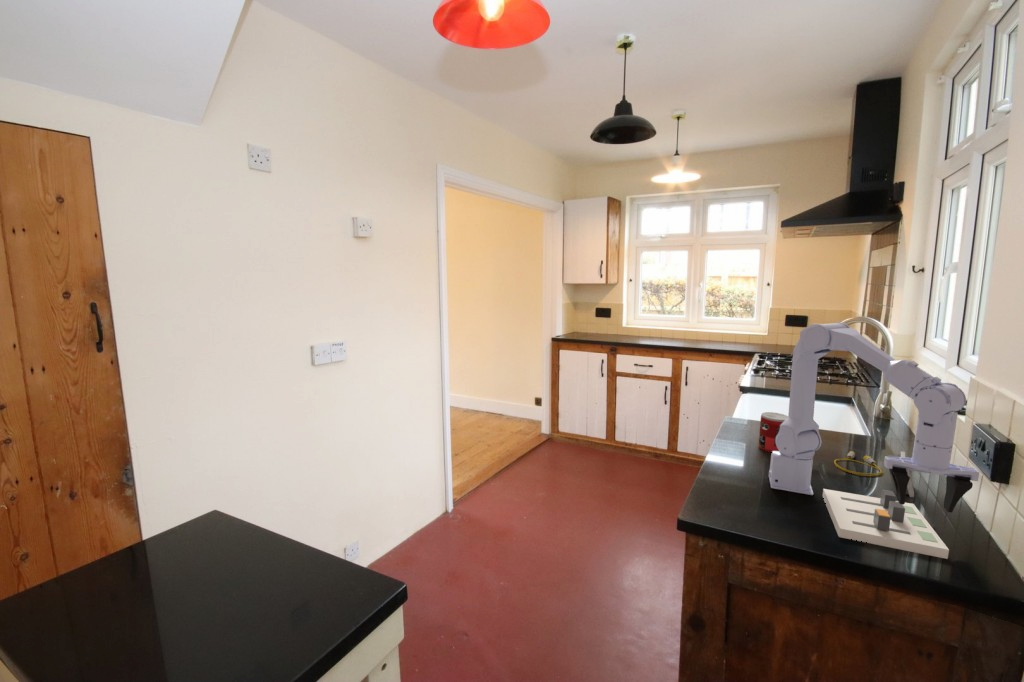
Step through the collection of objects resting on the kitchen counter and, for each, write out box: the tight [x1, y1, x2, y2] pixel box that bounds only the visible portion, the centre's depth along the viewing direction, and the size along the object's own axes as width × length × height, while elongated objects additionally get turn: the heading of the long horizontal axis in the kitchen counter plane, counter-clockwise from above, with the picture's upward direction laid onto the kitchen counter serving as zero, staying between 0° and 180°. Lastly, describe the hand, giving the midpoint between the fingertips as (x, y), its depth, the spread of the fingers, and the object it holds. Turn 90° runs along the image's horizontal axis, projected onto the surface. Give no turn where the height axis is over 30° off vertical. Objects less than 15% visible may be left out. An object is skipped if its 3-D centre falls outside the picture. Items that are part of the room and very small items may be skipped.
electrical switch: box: [887, 451, 915, 498], centre depth 122 cm, size 9×5×9 cm, turn 141°
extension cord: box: [833, 450, 884, 477], centre depth 136 cm, size 12×16×2 cm
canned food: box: [758, 411, 788, 453], centre depth 148 cm, size 8×8×11 cm
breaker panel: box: [822, 488, 950, 560], centre depth 105 cm, size 18×20×5 cm
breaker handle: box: [873, 509, 891, 531], centre depth 100 cm, size 2×3×3 cm, turn 155°
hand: (923, 506), depth 96 cm, fingers open, 7 cm apart
